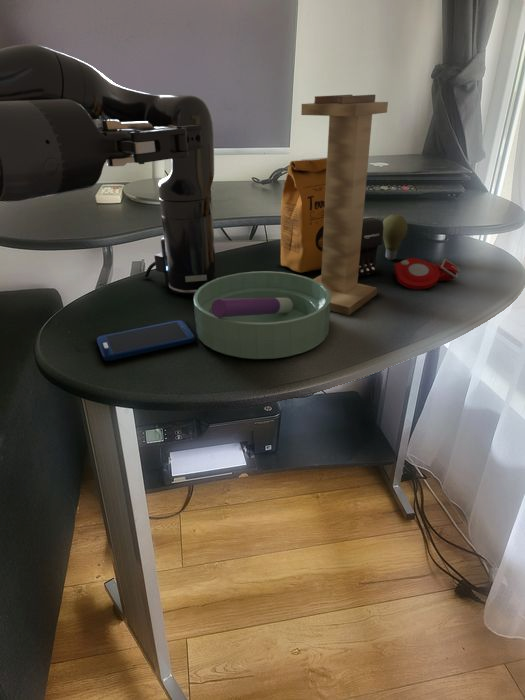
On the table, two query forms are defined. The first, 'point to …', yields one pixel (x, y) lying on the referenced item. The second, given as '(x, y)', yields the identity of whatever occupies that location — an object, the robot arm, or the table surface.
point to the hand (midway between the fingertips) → (170, 134)
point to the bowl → (269, 329)
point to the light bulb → (393, 234)
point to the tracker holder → (423, 273)
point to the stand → (345, 194)
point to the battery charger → (370, 245)
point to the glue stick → (250, 306)
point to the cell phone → (144, 340)
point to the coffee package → (303, 215)
